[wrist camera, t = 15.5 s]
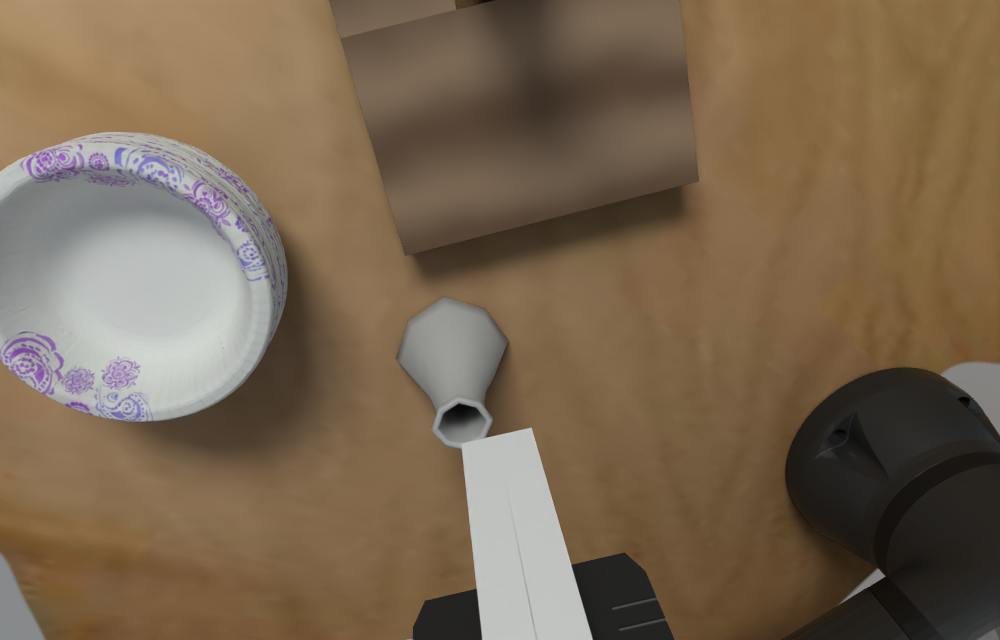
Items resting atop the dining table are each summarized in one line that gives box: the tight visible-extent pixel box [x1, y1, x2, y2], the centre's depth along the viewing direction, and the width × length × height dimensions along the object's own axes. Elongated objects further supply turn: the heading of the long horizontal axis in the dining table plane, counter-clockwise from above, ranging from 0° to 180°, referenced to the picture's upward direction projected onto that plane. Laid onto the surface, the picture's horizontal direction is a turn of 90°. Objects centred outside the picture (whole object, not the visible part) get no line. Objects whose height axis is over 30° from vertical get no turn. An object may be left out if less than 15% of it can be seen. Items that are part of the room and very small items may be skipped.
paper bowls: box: [0, 132, 288, 422], centre depth 39 cm, size 15×15×8 cm
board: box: [329, 0, 699, 256], centre depth 38 cm, size 24×18×3 cm
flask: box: [396, 297, 508, 450], centre depth 42 cm, size 7×7×10 cm
